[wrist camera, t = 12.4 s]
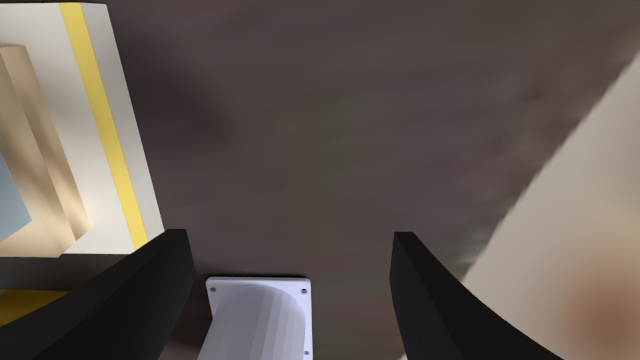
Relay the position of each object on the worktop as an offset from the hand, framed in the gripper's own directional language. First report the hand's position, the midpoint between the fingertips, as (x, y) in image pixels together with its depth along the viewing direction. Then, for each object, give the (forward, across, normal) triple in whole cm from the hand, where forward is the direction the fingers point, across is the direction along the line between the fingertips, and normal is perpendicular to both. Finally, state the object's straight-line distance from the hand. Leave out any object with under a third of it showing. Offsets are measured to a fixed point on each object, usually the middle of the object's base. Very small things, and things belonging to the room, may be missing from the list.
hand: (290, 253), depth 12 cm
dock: (+10, +17, 0) cm, 20 cm away
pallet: (+8, +17, -1) cm, 19 cm away
